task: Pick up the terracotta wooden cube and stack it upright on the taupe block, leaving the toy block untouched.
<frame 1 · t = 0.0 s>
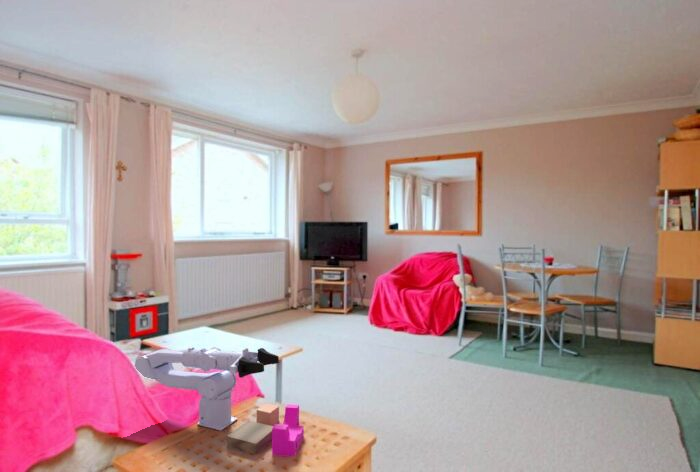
hand: (270, 363, 123), 22 cm above the table, tool horizontal, fingers open, 7 cm apart
taupe block: (252, 441, 120), on the table
terracotta cube: (267, 423, 131), on the table
toy block: (290, 442, 121), on the table
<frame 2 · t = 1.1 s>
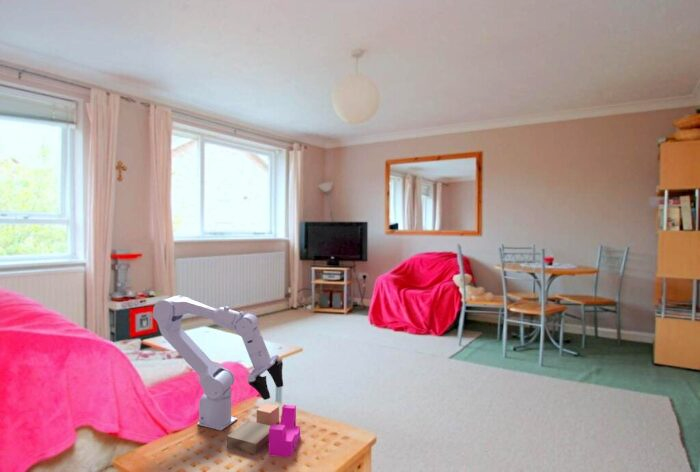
hand: (273, 392, 129), 11 cm above the table, tool tilted 20°, fingers open, 7 cm apart
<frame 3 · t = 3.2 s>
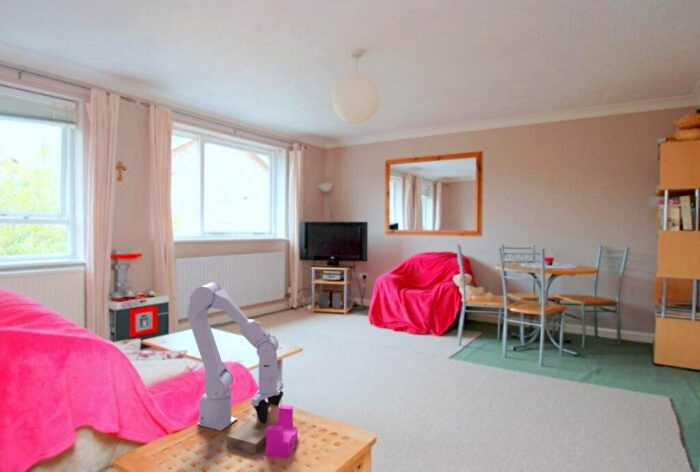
hand: (267, 418, 131), 1 cm above the table, tool pointing down, fingers closed on terracotta cube, 5 cm apart
terracotta cube: (267, 423, 131), on the table, touching gripper
toy block: (284, 443, 120), on the table, touching taupe block
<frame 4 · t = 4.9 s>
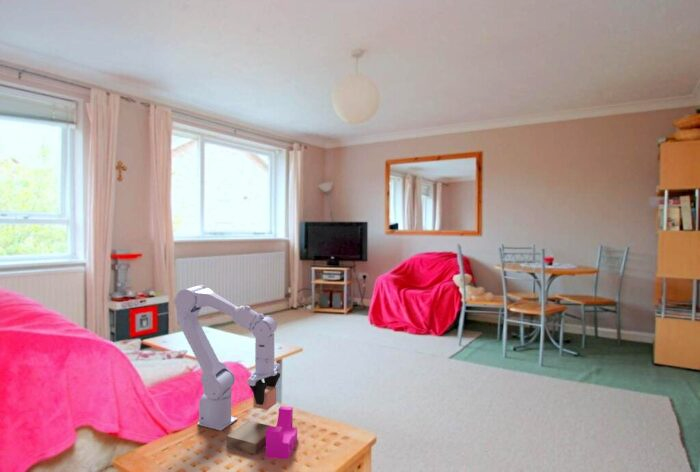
hand: (264, 400, 128), 8 cm above the table, tool pointing down, fingers closed on terracotta cube, 5 cm apart
terracotta cube: (264, 405, 128), point 7 cm above the table, touching gripper
toy block: (284, 444, 119), on the table
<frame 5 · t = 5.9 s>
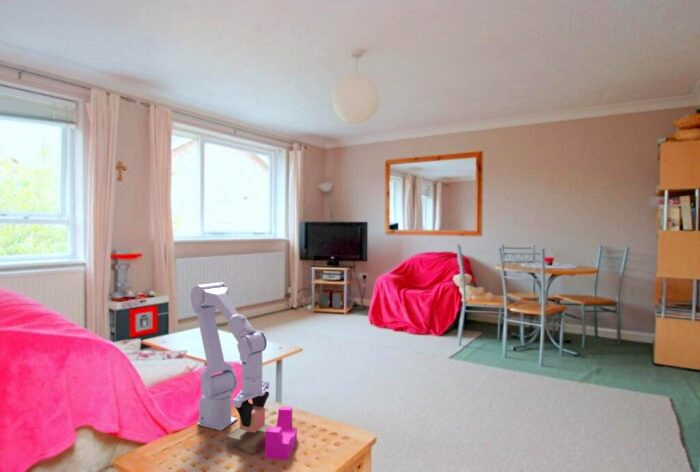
hand: (252, 421, 120), 6 cm above the table, tool pointing down, fingers closed on terracotta cube, 5 cm apart
terracotta cube: (252, 426, 120), point 4 cm above the table, touching gripper
when the fingers open (6 cm above the table, at t = 6.7 s): terracotta cube drops 1 cm, resting on taupe block.
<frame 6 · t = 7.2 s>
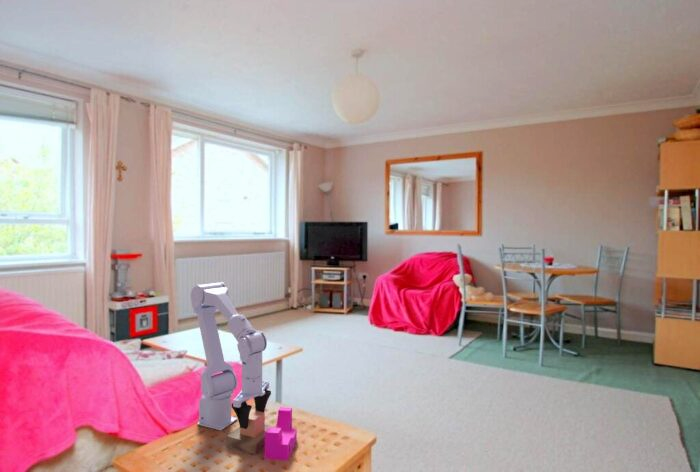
hand: (252, 421, 120), 6 cm above the table, tool pointing down, fingers open, 7 cm apart
terracotta cube: (252, 431, 120), point 3 cm above the table, touching taupe block
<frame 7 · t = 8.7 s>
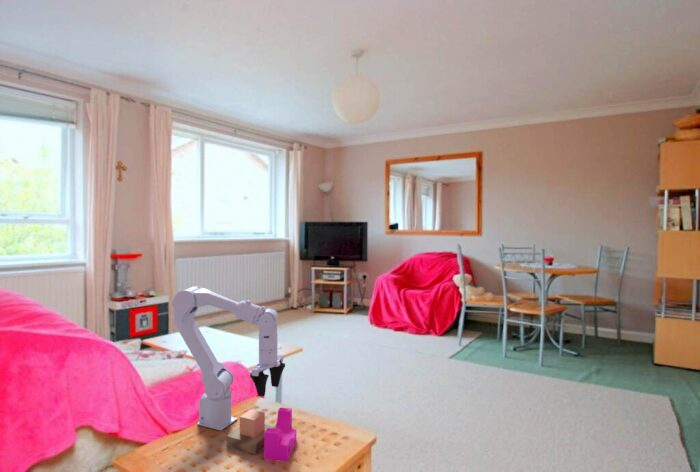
hand: (268, 390, 130), 10 cm above the table, tool pointing down, fingers open, 7 cm apart
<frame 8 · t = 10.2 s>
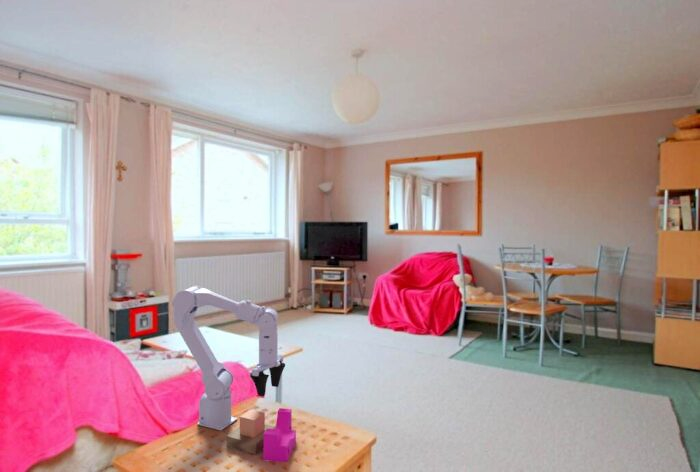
hand: (268, 390, 131), 10 cm above the table, tool pointing down, fingers open, 7 cm apart
at the end: terracotta cube 0.1 cm off-centre on the taupe block, point 3.0 cm above the taupe block's base; terracotta cube tilted 0°; the gripper is holding nothing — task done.
